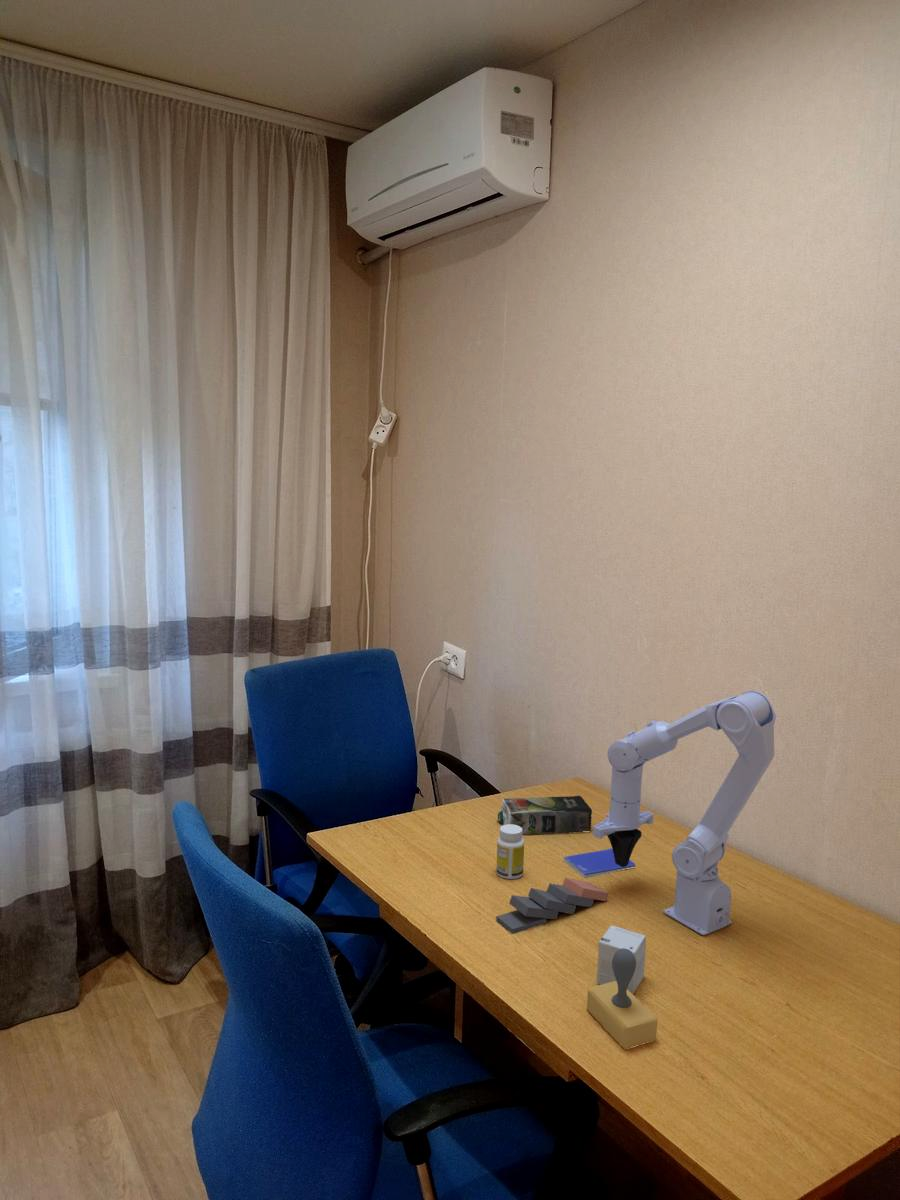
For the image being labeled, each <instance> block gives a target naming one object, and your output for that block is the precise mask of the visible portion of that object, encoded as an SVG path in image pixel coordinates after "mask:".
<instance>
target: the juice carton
mask: <svg viewBox="0 0 900 1200" xmlns="http://www.w3.org/2000/svg"><path fill="white" fill-rule="evenodd" d="M501 801H502V802H501V808H500V809H501V810H500V811H498V812H497V820H499V823H501V824H502V826H503V825H507V824H513V825H518V826H520V827H521V828H522V836H532V835H555V834H554V833H566V834H570V833H569V832H583V831H590V832H591V831H592V818H593V817H592V815H593V810H592V808H591V807H590V806H589V804H588V803H587V802H586V801H585V799H584V798H583V797H582V796H581V795H573V796H571V795H570V796H542V797H539V796H538V797H535V796H534V797H512V798H502V799H501Z"/></svg>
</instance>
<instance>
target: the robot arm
mask: <svg viewBox="0 0 900 1200" xmlns="http://www.w3.org/2000/svg"><path fill="white" fill-rule="evenodd" d="M776 720H777V715H776V712H775V710H774V708H773V705H772V703H771V701H770V699H769V698H768V697H767V696H766V695H765V694H764V693H762V692H760V691H758V690H757V691H756V690H747V691H745V692H743V693H741V694H740V695H733V696H729V697H727V698H724V699H721V700H718V701H717V700H716V701H714V702H711V703H710V704H706V705H704V706H703V707H700V708H699V709H697V710H695V711H693V712H691V713H689V714H687V715H685V716H683V717H681V718H679V719H677V720H675V721H673V722H671V723H669V722H666V721H663V720H659V721H656V720H654V719H653V720H652V721H649V722H647V723H646V727H643V728H642V729H640V730H638V731H634V730H633V731H630V732H629V733H627V736H626V737H624V738H622V739H619V740H618V739H617V740H615V741H614V742H613V743H611V744H610V745H609V747H608V750H607V754H606V755H607V759H608V760H607V761H608V762H609V764H610V765H611V767H612V769H611V780H610V781H611V783H610V797H609V799H610V802H609V812H607V813H606V818H605V819H604V820H602V821H601V822H599V823H597V824H595V825H593V827H592V836H594V837H595V838H597V839H599V840H602V839H604V838H605V836H606V837H607V838H608V841H609V842H610V846H611V849H613V853H614V858H615V863H616V864H617V865H619V866H621V867H625V866H627V865H628V862H629V860H630V859H631V855H632V853H633V851H634V848H635V846H636V844H637V843H638V842H639V840H640V839H641V838H642V834H643V833H642V831H641V830H640V829H638V828H640V827H641V826H643V825H645V824H648V825H651V824H654V818H655V817H654V813H652V812H650V811H648V810H645V811H641V795H642V783H643V782H642V781H643V771H644V770H643V769H644V764H645V763H647V762H649V761H651V760H654V759H656V758H658V757H660V756H662V755H665V754H667V753H669V752H671V751H673V750H675V749H676V747H677V744H678V741H679V739H681V738H684V737H686V736H689V735H691V734H693V733H694V734H695V733H697V732H698V731H701V730H703V729H705V728H708V727H709V728H712V729H713V730H715V731H719V730H722V731H723V734H725V735H726V737H727V738H728V739H729V741H730V742H731V743H732V744H733V746H734V747H735V748H736V751H737V752H738V757H737V758H736V760H735V762H734V764H733V765H732V767H731V769H730V770H729V772H728V773H727V775H726V777H725V778H724V780H723V782H722V783H721V786H720V787H719V788H718V791H717V792H716V794H715V796H714V797H713V799H712V800H711V803H710V804H709V806H708V808H706V809H707V810H706V811H705V813H704V814H703V816H702V818H701V820H699V822H698V824H697V825H696V826H695V827H694V829H692V831H690V833H689V834H688V836H687V837H686V839H685V840H684V841H682V842H681V843H678V845H676V846H675V847H674V848H673V850H672V853H671V859H672V860H671V861H672V864H673V865H674V867H675V869H676V880H675V892H674V895H675V896H674V904H673V906H671V907H668V908H665V909H663V913H664V914H665V915H667V916H669V917H670V918H672V919H674V920H676V921H677V922H678V923H681V924H683V925H684V926H686V927H688V928H690V929H691V930H693V931H694V932H696V933H698V934H699V935H702V936H706V935H709V934H711V933H713V932H716V931H718V930H720V929H722V928H723V929H724V928H726V927H727V925H728V926H730V925H732V920H730V916H731V915H730V912H731V901H732V889H731V888H730V886H729V885H728V884H727V883H725V882H724V881H723V880H722V879H721V877H720V876H719V868H718V866H719V865H718V864H719V863H718V862H720V861H722V859H724V855H726V854H725V853H726V843H727V841H728V839H729V838H730V835H729V834H728V833H729V831H730V830H731V828H732V827H733V825H734V823H736V822H735V821H737V818H738V817H739V815H740V814H741V812H742V810H743V808H744V807H745V805H746V803H747V802H748V800H750V797H751V795H752V794H753V792H754V791H755V789H756V787H757V786H758V784H759V783H760V780H761V779H762V777H763V776H764V774H765V773H766V771H767V769H768V767H769V766H770V764H771V763H772V761H773V759H774V757H775V727H774V726H775V722H776ZM729 924H730V925H729Z"/></svg>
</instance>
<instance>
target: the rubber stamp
mask: <svg viewBox="0 0 900 1200" xmlns="http://www.w3.org/2000/svg"><path fill="white" fill-rule="evenodd" d="M612 968H613V972H614V975H615V978H616V981H613V982H609V983H605V984H602V985H601V984H598V985H595V986H590V987H588V990H587V998H586V999H587V1001H586V1009H587V1011H588V1012H589V1014H591V1015H592V1017H594V1019H596V1021H597V1022H598V1023H599V1024H600V1025H601V1026H602V1027H603V1029H605V1030H606V1031H607V1033H609V1034H610V1036H611V1037H612V1038H613V1039H614V1040H615V1041H616V1042H617V1043H618V1045H620V1046H621V1047H622V1049H623V1050H625V1049H628V1048H631V1047H633V1046H636V1045H641V1044H643V1043H647V1042H651V1041H654V1042H656V1041H657V1030H658V1017H657V1016H656V1015H655V1014H654V1013H653V1011H651V1010H650V1009H649V1008H648V1007H646V1005H644V1004H643V1003H642V1002H641V1001H640V999H638V998H637V997H636V996H635V995H634V993H633V994H632V993H631V992H630V991H629V990H628V989H627V987H628V985H629V983H630V981H631V979H632V977H633V975H634V972H635V969H636V959H635V956H634V955H633V953H632V952H631V951H630V950H628V949H625V948H622V949H619V950H617V951H616V952H615V954H614V956H613V960H612ZM651 1043H652V1042H651ZM641 1046H642V1045H641ZM631 1049H632V1048H631ZM628 1050H629V1049H628Z"/></svg>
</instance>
